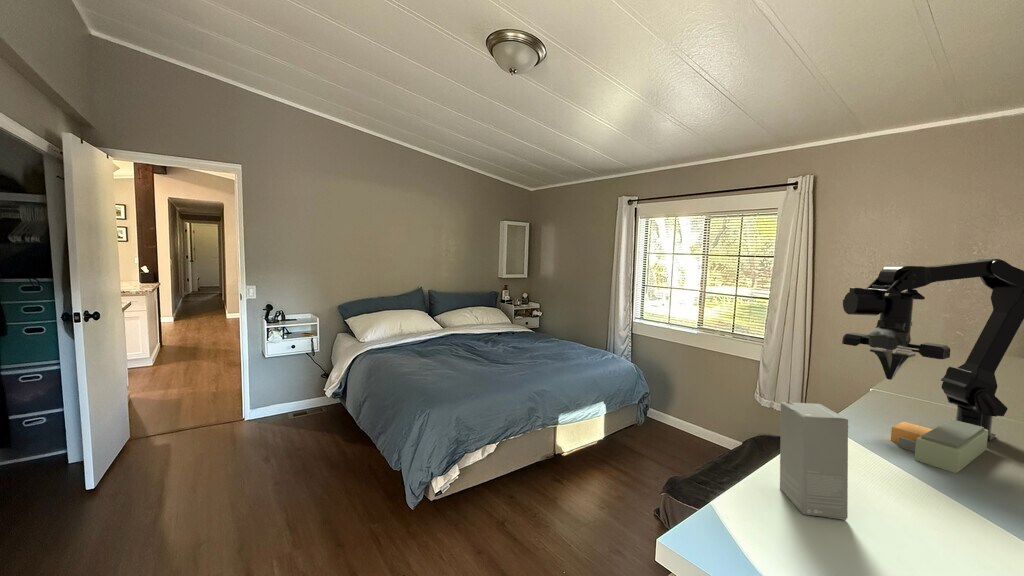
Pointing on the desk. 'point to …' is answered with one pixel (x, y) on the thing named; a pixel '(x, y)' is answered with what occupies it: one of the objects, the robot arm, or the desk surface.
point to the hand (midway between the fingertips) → (889, 379)
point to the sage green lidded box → (949, 445)
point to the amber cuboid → (907, 431)
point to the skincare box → (814, 459)
